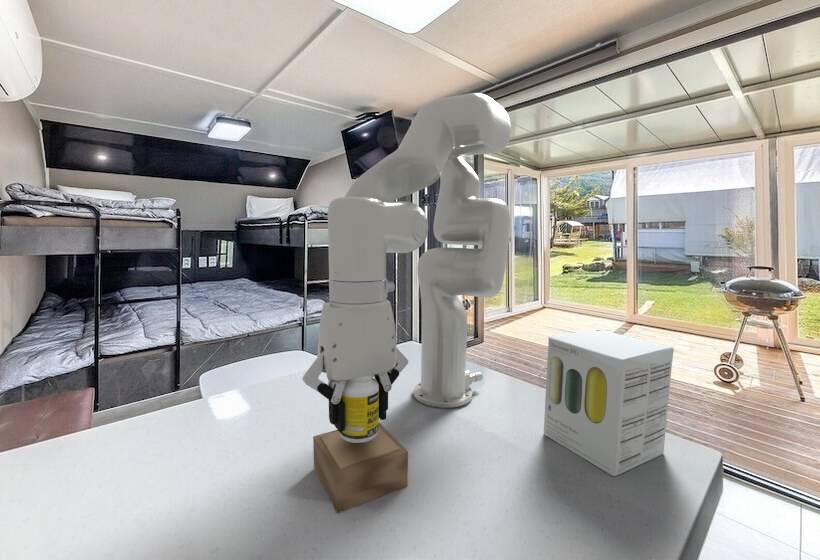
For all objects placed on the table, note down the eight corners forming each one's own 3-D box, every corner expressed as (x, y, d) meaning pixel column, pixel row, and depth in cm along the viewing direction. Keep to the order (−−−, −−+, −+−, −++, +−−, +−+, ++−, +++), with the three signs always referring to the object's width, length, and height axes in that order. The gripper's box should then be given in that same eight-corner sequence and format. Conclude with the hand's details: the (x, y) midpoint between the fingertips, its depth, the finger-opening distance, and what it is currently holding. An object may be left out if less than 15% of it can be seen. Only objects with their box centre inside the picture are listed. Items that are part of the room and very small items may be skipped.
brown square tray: (376, 449, 58) (376, 417, 58) (407, 485, 50) (407, 449, 49) (314, 468, 53) (313, 434, 52) (337, 513, 45) (336, 473, 44)
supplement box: (540, 434, 63) (546, 335, 61) (590, 417, 69) (596, 327, 67) (614, 479, 51) (623, 359, 49) (665, 454, 58) (676, 346, 56)
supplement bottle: (372, 446, 48) (371, 375, 46) (333, 442, 49) (332, 371, 47) (383, 425, 53) (383, 360, 52) (348, 422, 54) (347, 358, 53)
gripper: (400, 285, 56) (400, 397, 58) (285, 293, 47) (289, 425, 49) (427, 291, 49) (425, 417, 52) (300, 302, 41) (304, 453, 43)
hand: (359, 420), depth 50 cm, fingers closed on supplement bottle, 5 cm apart
